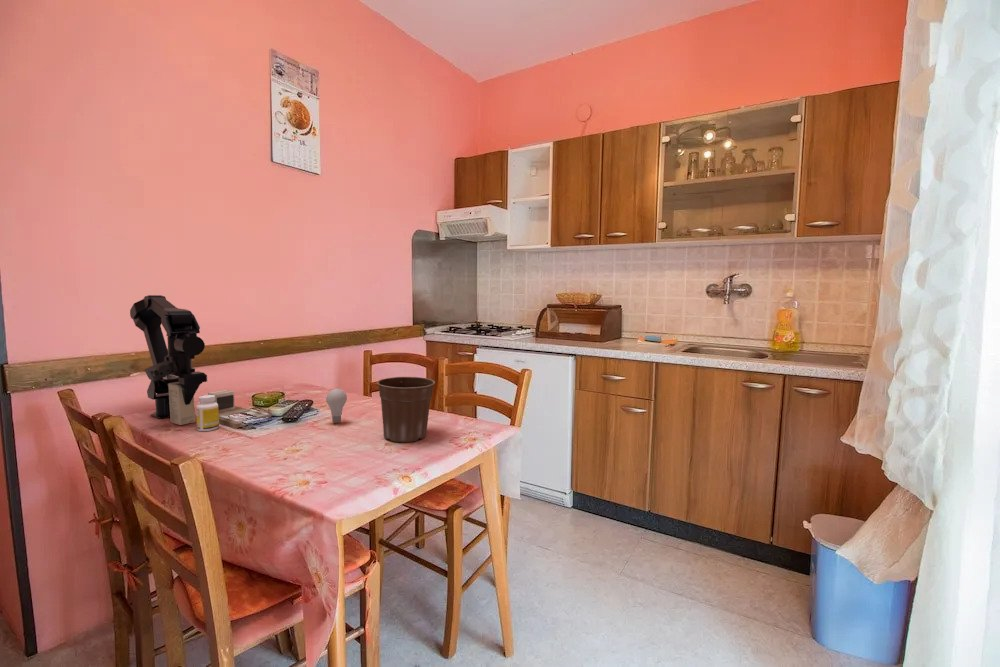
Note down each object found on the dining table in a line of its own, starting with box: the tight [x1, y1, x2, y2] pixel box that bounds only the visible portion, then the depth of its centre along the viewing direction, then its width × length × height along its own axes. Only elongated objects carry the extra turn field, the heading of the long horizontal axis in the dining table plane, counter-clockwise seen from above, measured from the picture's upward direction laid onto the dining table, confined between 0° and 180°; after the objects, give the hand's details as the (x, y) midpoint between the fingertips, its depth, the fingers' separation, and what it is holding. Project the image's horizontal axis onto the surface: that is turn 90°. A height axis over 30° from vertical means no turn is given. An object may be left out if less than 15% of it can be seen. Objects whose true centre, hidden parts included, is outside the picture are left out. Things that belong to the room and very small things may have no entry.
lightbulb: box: [325, 388, 348, 424], centre depth 139 cm, size 6×6×11 cm
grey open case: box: [207, 389, 272, 429], centre depth 142 cm, size 23×11×8 cm, turn 60°
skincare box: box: [168, 382, 196, 426], centre depth 136 cm, size 6×4×12 cm
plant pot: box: [376, 376, 436, 443], centre depth 129 cm, size 16×16×16 cm
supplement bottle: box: [195, 394, 220, 432], centre depth 131 cm, size 5×5×10 cm
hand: (181, 402), depth 136 cm, fingers closed on skincare box, 6 cm apart
